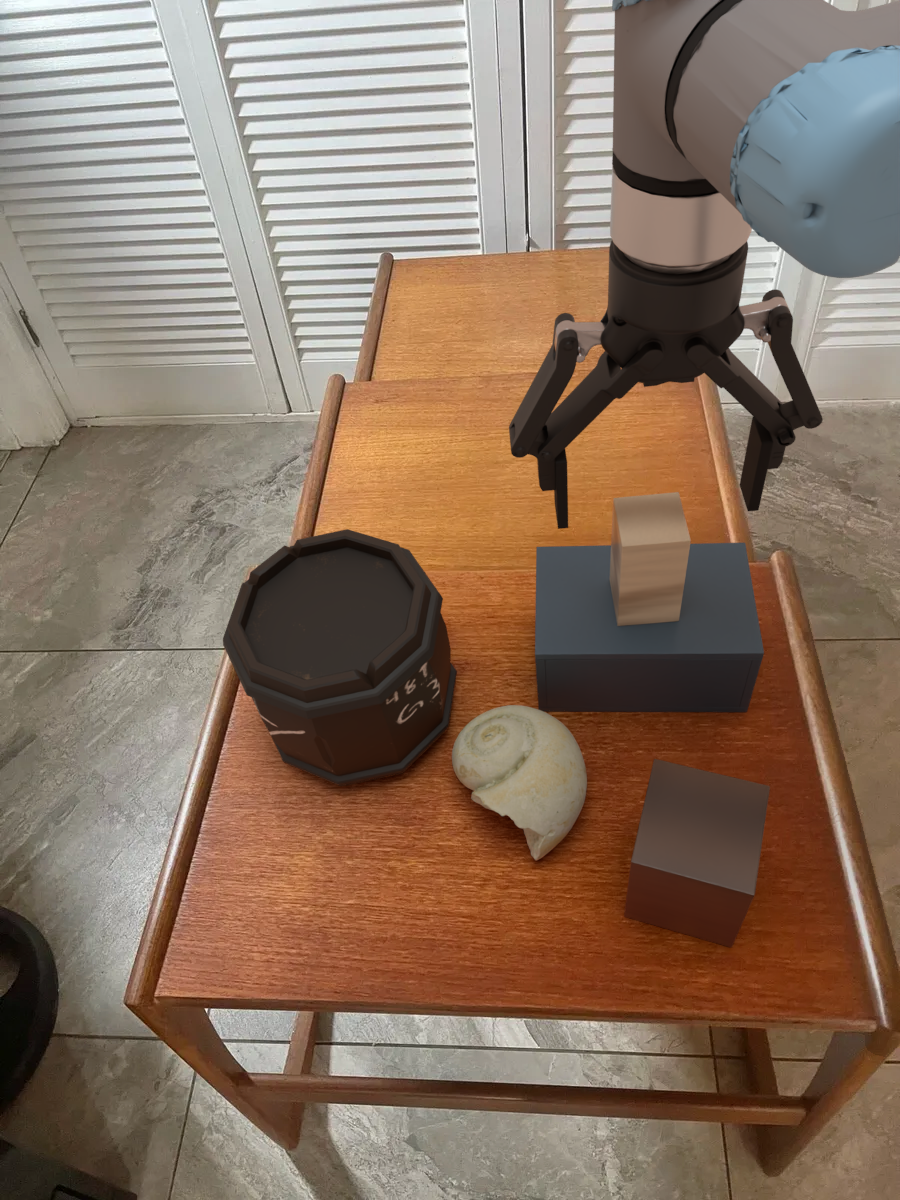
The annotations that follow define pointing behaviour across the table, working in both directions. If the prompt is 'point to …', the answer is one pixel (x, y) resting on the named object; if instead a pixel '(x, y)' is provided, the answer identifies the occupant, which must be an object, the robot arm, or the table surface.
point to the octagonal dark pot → (344, 655)
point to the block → (648, 558)
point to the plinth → (697, 852)
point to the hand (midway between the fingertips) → (654, 506)
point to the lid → (704, 631)
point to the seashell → (524, 771)
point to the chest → (646, 685)
